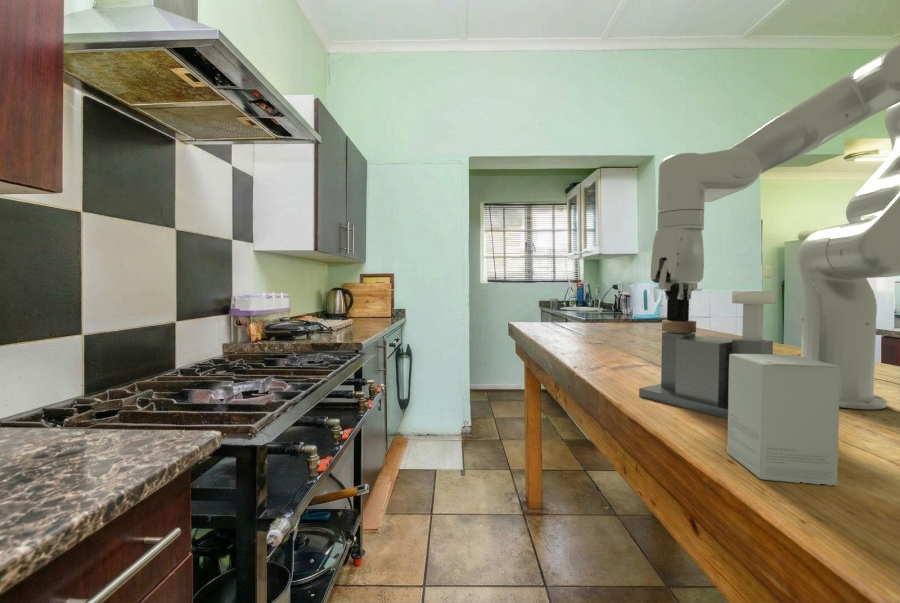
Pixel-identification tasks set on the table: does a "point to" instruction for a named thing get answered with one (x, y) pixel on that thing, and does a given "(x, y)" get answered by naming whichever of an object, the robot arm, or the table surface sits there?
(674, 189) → the robot arm
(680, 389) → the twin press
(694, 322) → the walnut plunger
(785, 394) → the supplement box
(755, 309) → the cream plunger
